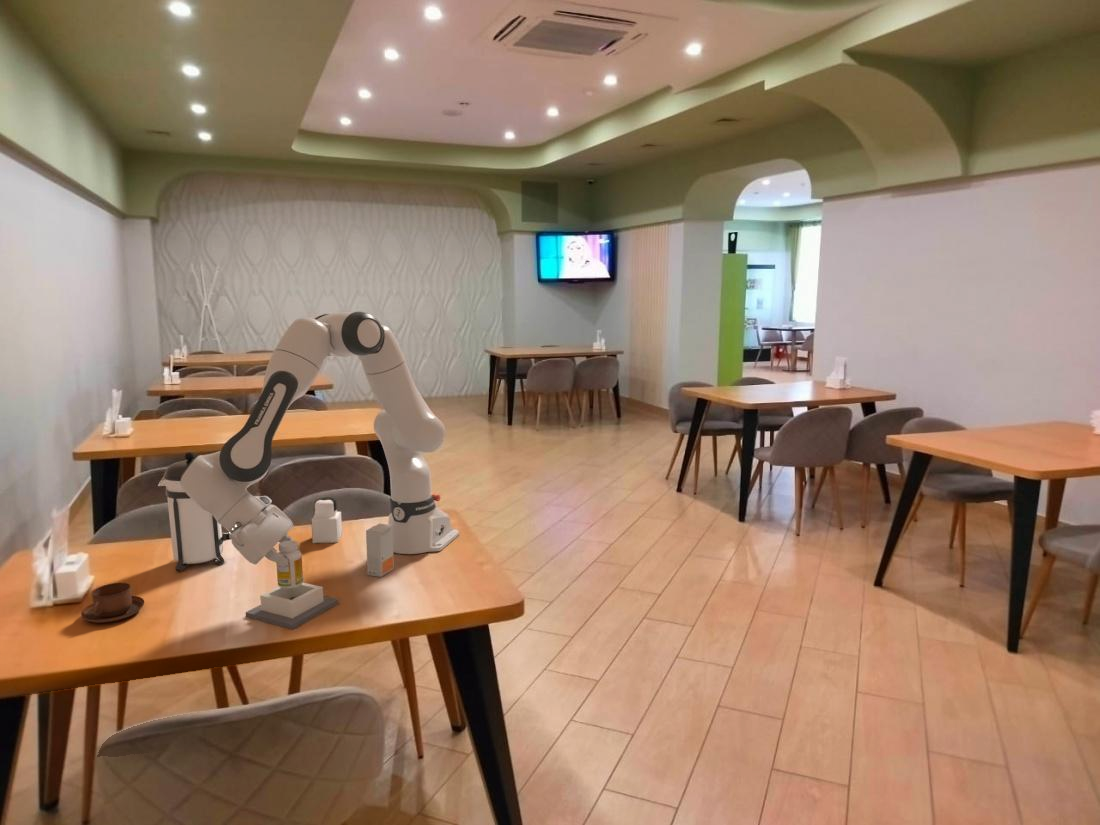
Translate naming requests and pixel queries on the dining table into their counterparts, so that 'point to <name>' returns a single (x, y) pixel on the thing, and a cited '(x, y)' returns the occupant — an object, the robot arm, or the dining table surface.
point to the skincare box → (379, 550)
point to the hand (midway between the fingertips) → (291, 558)
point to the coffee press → (190, 522)
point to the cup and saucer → (112, 603)
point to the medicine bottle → (326, 521)
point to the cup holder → (292, 605)
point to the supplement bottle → (290, 566)
